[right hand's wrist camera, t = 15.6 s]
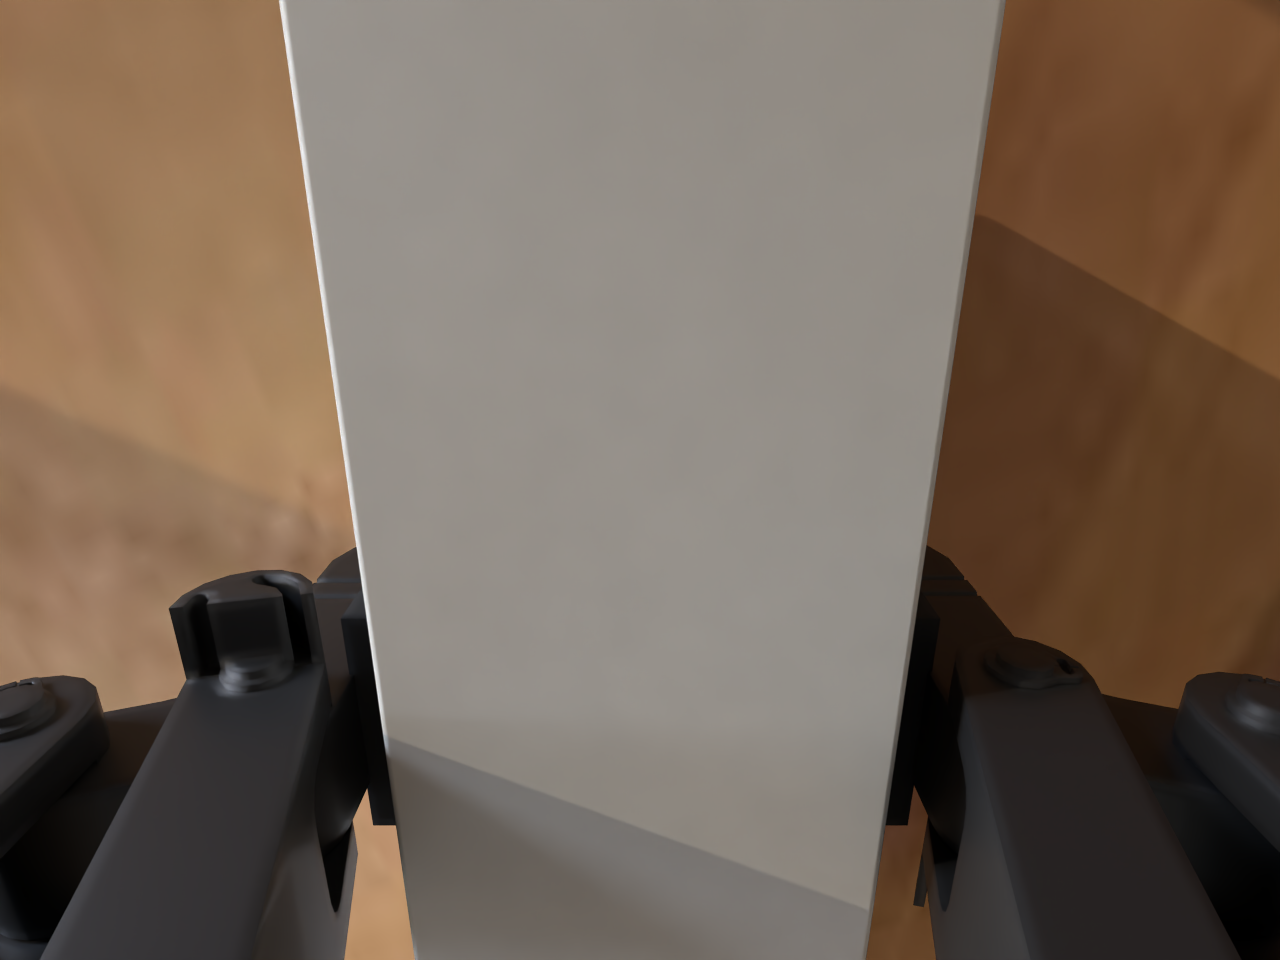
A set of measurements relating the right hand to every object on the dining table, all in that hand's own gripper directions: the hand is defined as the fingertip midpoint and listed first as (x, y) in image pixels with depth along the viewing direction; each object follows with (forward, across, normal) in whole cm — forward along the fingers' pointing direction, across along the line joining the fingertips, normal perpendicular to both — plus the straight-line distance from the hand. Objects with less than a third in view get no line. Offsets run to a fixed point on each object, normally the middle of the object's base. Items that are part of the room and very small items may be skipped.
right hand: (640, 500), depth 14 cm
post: (+1, 0, -22) cm, 22 cm away
